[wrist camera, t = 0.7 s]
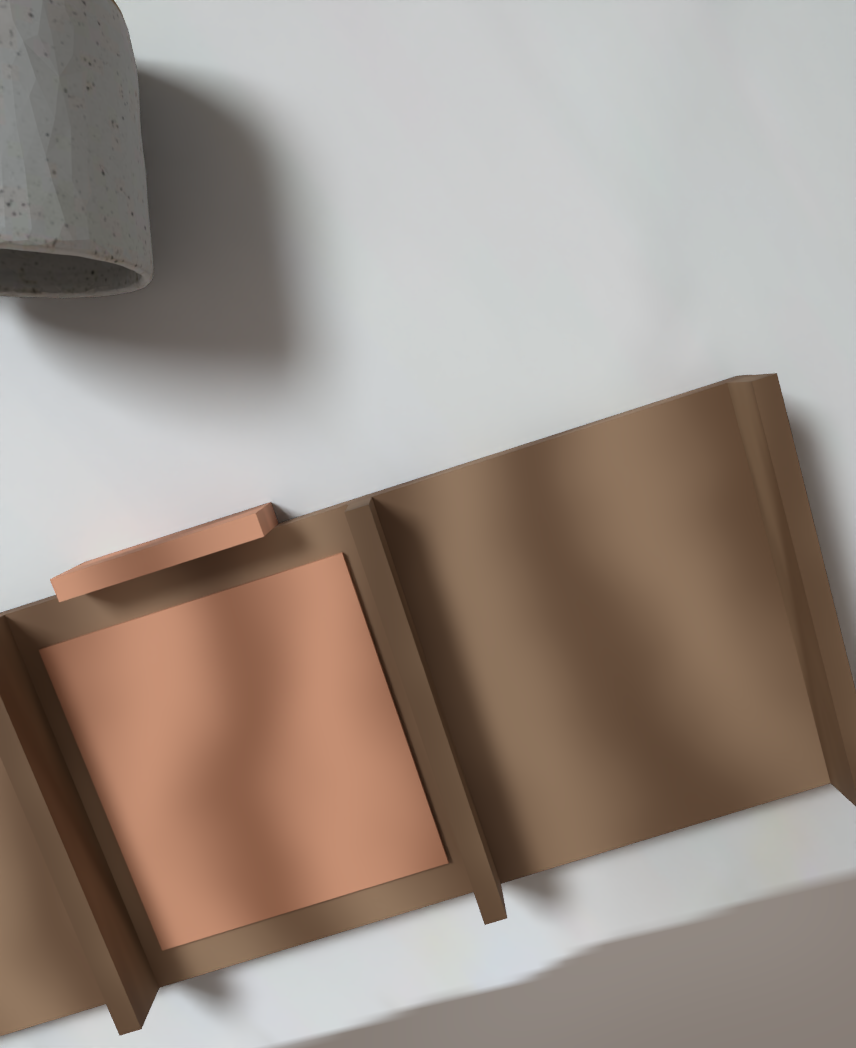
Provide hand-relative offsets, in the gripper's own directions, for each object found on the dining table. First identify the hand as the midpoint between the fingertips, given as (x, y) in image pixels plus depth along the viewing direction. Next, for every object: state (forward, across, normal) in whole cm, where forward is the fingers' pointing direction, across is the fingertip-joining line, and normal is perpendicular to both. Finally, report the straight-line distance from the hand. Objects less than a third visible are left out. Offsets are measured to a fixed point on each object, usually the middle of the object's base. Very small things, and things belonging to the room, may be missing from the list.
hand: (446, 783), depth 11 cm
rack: (+17, -7, -10) cm, 21 cm away
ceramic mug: (+19, -16, +8) cm, 26 cm away
